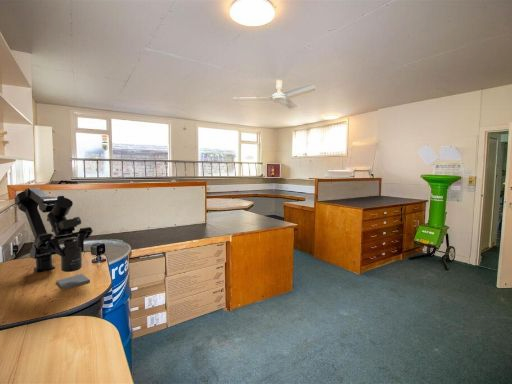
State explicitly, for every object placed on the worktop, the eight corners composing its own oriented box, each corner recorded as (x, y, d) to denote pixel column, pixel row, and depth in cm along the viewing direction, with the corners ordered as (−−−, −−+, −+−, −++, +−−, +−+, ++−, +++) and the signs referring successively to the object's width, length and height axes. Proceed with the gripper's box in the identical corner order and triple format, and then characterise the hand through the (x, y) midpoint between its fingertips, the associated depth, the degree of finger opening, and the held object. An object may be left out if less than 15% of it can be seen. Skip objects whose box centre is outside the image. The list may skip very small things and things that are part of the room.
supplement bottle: (76, 272, 101) (75, 242, 100) (57, 272, 100) (56, 242, 99) (85, 265, 108) (84, 237, 107) (67, 266, 107) (66, 238, 106)
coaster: (56, 282, 104) (56, 280, 104) (81, 276, 111) (81, 273, 111) (63, 289, 99) (63, 287, 98) (89, 281, 106) (89, 279, 106)
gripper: (36, 214, 96) (51, 248, 92) (89, 208, 112) (104, 237, 108) (29, 231, 101) (42, 265, 96) (81, 223, 117) (94, 252, 112)
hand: (73, 254), depth 103 cm, fingers closed on supplement bottle, 7 cm apart
